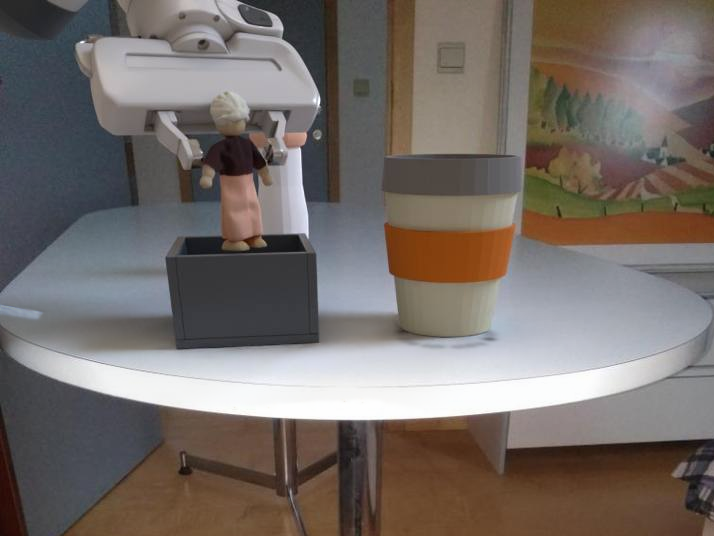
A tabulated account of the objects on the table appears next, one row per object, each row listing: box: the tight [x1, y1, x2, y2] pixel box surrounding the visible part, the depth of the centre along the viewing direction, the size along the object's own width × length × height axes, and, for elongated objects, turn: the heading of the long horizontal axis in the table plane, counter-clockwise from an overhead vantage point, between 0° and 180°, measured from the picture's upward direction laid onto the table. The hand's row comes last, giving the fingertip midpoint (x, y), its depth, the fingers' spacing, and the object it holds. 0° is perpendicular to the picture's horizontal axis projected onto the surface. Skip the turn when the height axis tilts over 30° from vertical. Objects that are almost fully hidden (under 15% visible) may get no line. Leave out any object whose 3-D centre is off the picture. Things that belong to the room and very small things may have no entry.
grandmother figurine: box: [199, 91, 273, 251], centre depth 63 cm, size 8×4×13 cm, turn 149°
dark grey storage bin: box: [164, 233, 320, 350], centre depth 68 cm, size 13×13×8 cm
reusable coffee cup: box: [380, 153, 523, 338], centre depth 67 cm, size 13×13×15 cm
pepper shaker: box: [248, 132, 309, 239], centre depth 92 cm, size 7×7×19 cm
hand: (238, 162), depth 63 cm, fingers closed on grandmother figurine, 6 cm apart
